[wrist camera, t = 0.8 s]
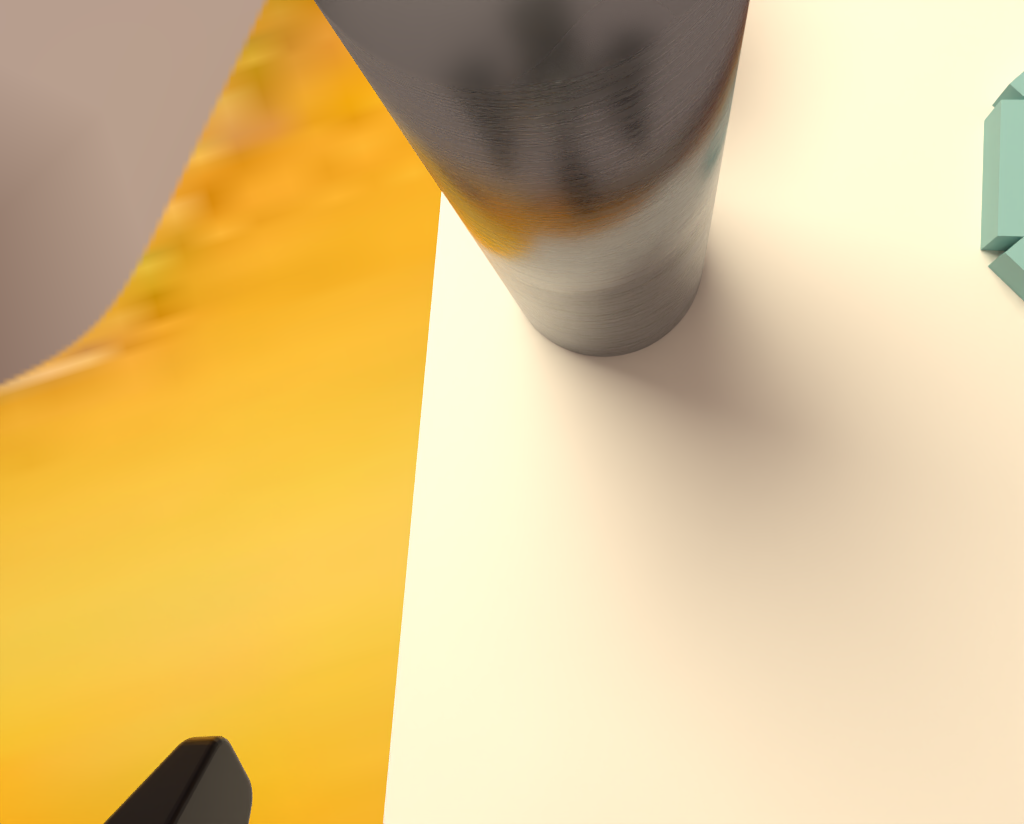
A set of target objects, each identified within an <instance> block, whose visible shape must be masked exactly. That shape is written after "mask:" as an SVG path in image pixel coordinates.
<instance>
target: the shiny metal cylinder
mask: <svg viewBox="0 0 1024 824" xmlns="http://www.w3.org/2000/svg"><path fill="white" fill-rule="evenodd" d="M314 1H315V2H316V4H317V5H318V7H319V8H320V10H321V11H322V13H323V14H324V16H325V17H326V19H327V20H328V22H329V23H330V25H331V26H332V28H333V29H334V31H335V32H336V34H337V35H338V37H339V38H340V40H341V41H342V43H343V44H344V46H345V47H346V49H347V50H348V52H349V53H350V55H351V56H352V58H353V59H354V61H355V62H356V64H357V65H358V67H359V68H360V70H361V71H362V73H363V74H364V76H365V77H366V79H367V80H368V82H369V83H370V85H371V86H372V88H373V89H374V91H375V92H376V94H377V95H378V96H379V98H380V99H381V101H382V102H383V104H384V105H385V107H386V108H387V110H388V111H389V113H390V114H391V116H392V117H393V119H394V120H395V122H396V123H397V125H398V126H399V128H400V129H401V131H402V132H403V134H404V135H405V137H406V138H407V140H408V141H409V143H410V144H411V146H412V147H413V149H414V150H415V152H416V153H417V155H418V156H419V158H420V159H421V161H422V162H423V164H424V165H425V167H426V168H427V170H428V171H429V173H430V174H431V176H432V177H433V179H434V180H435V182H436V183H437V185H438V186H439V188H440V189H441V191H442V192H443V194H444V195H445V197H446V198H447V200H448V201H449V203H450V204H451V206H452V207H453V209H454V210H455V212H456V213H457V215H458V216H459V218H460V219H461V221H462V222H463V224H464V225H465V227H466V228H467V230H468V231H469V233H470V234H471V236H472V237H473V239H474V240H475V242H476V243H477V245H478V246H479V248H480V249H481V251H482V252H483V254H484V255H485V257H486V258H487V260H488V261H489V263H490V264H491V266H492V267H493V268H494V270H495V271H496V273H497V274H498V276H499V277H500V279H501V280H502V282H503V283H504V285H505V286H506V288H507V289H508V291H509V292H510V294H511V295H512V297H513V298H514V300H515V301H516V303H517V304H518V306H519V307H520V309H521V310H522V312H523V313H524V315H525V316H526V318H527V319H528V320H529V322H530V323H531V324H532V325H533V326H534V327H535V328H536V329H537V330H538V331H539V332H540V333H541V334H542V335H543V336H544V337H546V338H547V339H548V340H550V341H551V342H553V343H555V344H556V345H558V346H560V347H562V348H564V349H567V350H569V351H572V352H575V353H579V354H583V355H588V356H596V357H612V356H619V355H625V354H628V353H632V352H636V351H638V350H641V349H643V348H645V347H648V346H650V345H651V344H653V343H655V342H657V341H658V340H660V339H661V338H663V337H664V336H665V335H666V334H668V333H669V332H670V331H671V330H672V329H673V328H674V327H675V326H676V325H677V324H678V323H679V322H680V321H681V320H682V318H683V317H684V316H685V314H686V313H687V312H688V310H689V308H690V306H691V305H692V303H693V301H694V299H695V296H696V294H697V292H698V289H699V285H700V281H701V278H702V272H703V266H704V260H705V255H706V249H707V243H708V237H709V232H710V226H711V220H712V214H713V209H714V203H715V197H716V191H717V186H718V180H719V174H720V168H721V163H722V157H723V151H724V145H725V140H726V134H727V128H728V122H729V117H730V111H731V105H732V99H733V94H734V88H735V82H736V76H737V71H738V65H739V59H740V53H741V48H742V42H743V36H744V30H745V25H746V19H747V13H748V7H749V2H750V0H314Z"/></svg>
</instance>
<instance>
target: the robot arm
mask: <svg viewBox="0 0 1024 824" xmlns="http://www.w3.org/2000/svg"><path fill="white" fill-rule="evenodd" d="M251 806H252V787H251V783H250V780H249V778H248V776H247V774H246V772H245V770H244V768H243V767H242V765H241V763H240V761H239V759H238V757H237V755H236V753H235V751H234V750H233V748H232V746H231V744H230V742H229V741H228V740H227V739H225V738H224V737H222V736H208V737H193V738H189V739H187V740H185V741H183V742H182V743H181V744H179V745H178V746H177V747H176V748H175V749H174V750H173V752H172V753H171V754H170V755H169V756H168V757H167V758H166V759H165V760H164V761H163V762H162V763H161V764H160V765H159V766H158V767H157V768H156V769H155V770H154V771H153V772H152V774H151V775H150V776H149V777H148V778H147V779H146V780H145V781H144V782H143V783H142V784H141V785H140V786H139V787H138V788H137V789H136V790H135V791H134V792H133V793H132V794H131V795H130V797H129V798H128V799H127V800H126V801H125V802H124V803H123V804H122V805H121V806H120V807H119V808H118V809H117V810H116V811H115V812H114V813H113V814H112V815H111V816H110V817H109V818H108V820H107V821H106V822H105V823H104V824H249V818H250V812H251Z"/></svg>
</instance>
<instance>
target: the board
mask: <svg viewBox="0 0 1024 824" xmlns="http://www.w3.org/2000/svg"><path fill="white" fill-rule="evenodd" d="M383 824H1024V0H750V2H749V7H748V13H747V19H746V25H745V30H744V36H743V42H742V48H741V53H740V59H739V65H738V71H737V76H736V82H735V88H734V94H733V99H732V105H731V111H730V117H729V122H728V128H727V134H726V140H725V145H724V151H723V157H722V163H721V168H720V174H719V180H718V186H717V191H716V197H715V203H714V209H713V214H712V220H711V226H710V232H709V237H708V243H707V249H706V255H705V260H704V266H703V272H702V278H701V281H700V285H699V289H698V292H697V294H696V296H695V299H694V301H693V303H692V305H691V306H690V308H689V310H688V312H687V313H686V314H685V316H684V317H683V318H682V320H681V321H680V322H679V323H678V324H677V325H676V326H675V327H674V328H673V329H672V330H671V331H670V332H669V333H668V334H666V335H665V336H664V337H663V338H661V339H660V340H658V341H657V342H655V343H653V344H651V345H650V346H648V347H645V348H643V349H641V350H638V351H636V352H632V353H628V354H625V355H619V356H612V357H596V356H588V355H583V354H579V353H575V352H572V351H569V350H567V349H564V348H562V347H560V346H558V345H556V344H555V343H553V342H551V341H550V340H548V339H547V338H546V337H544V336H543V335H542V334H541V333H540V332H539V331H538V330H537V329H536V328H535V327H534V326H533V325H532V324H531V323H530V322H529V320H528V319H527V318H526V316H525V315H524V313H523V312H522V310H521V309H520V307H519V306H518V304H517V303H516V301H515V300H514V298H513V297H512V295H511V294H510V292H509V291H508V289H507V288H506V286H505V285H504V283H503V282H502V280H501V279H500V277H499V276H498V274H497V273H496V271H495V270H494V268H493V267H492V266H491V264H490V263H489V261H488V260H487V258H486V257H485V255H484V254H483V252H482V251H481V249H480V248H479V246H478V245H477V243H476V242H475V240H474V239H473V237H472V236H471V234H470V233H469V231H468V230H467V228H466V227H465V225H464V224H463V222H462V221H461V219H460V218H459V216H458V215H457V213H456V212H455V210H454V209H453V207H452V206H451V204H450V203H449V201H448V200H447V198H446V197H445V195H444V194H443V192H442V195H441V206H440V217H439V228H438V238H437V249H436V260H435V271H434V281H433V292H432V303H431V314H430V325H429V335H428V346H427V357H426V368H425V379H424V389H423V400H422V411H421V422H420V432H419V443H418V454H417V465H416V476H415V486H414V497H413V508H412V519H411V530H410V540H409V551H408V562H407V573H406V583H405V594H404V605H403V616H402V627H401V637H400V648H399V659H398V670H397V681H396V691H395V702H394V713H393V724H392V734H391V745H390V756H389V767H388V778H387V788H386V799H385V810H384V821H383Z"/></svg>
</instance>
